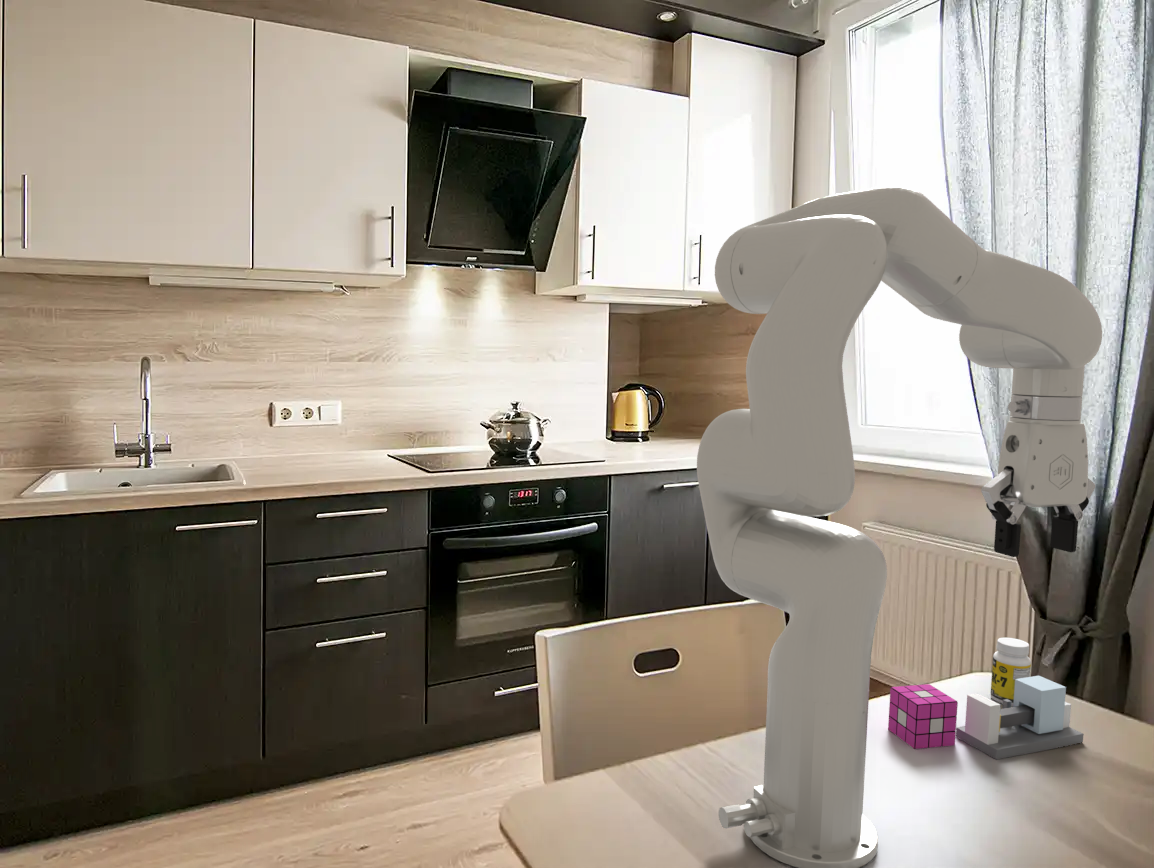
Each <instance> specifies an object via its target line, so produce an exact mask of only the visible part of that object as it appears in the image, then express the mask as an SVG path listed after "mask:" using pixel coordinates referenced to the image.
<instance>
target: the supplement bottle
mask: <svg viewBox="0 0 1154 868" xmlns="http://www.w3.org/2000/svg"><path fill="white" fill-rule="evenodd" d="M995 646H996V651H995V652H994V653H993V654H992V655H993V656H992V666H991V682H990V698H991V699H992V701H994V702H996V703H998V704H1000V705H1003V700H1005V699H1008V700H1010V701H1012V703H1011V707H1013V702H1014V688H1015V679H1019V678H1026V677H1031V672H1032V671H1031V668H1032V660H1031V658H1030V657H1029V655H1030V654H1029V653H1030V644H1029V642H1027V641H1025V640H1022V639H1019V638H1014V637H999V638H998V639H997V641H996V645H995Z"/></svg>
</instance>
